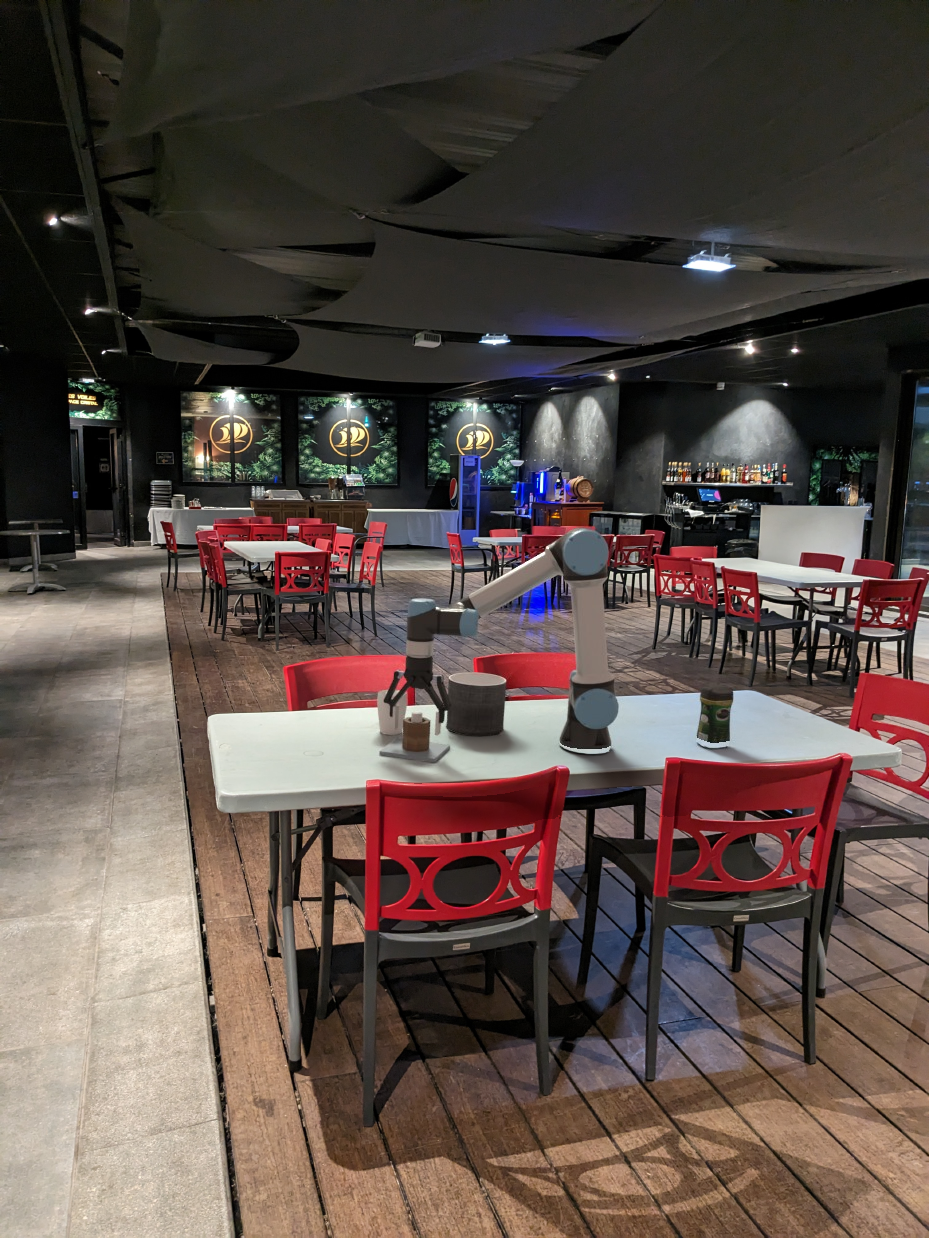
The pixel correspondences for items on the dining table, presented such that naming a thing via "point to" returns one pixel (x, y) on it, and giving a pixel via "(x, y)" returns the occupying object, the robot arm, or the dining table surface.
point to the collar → (416, 735)
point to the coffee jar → (715, 714)
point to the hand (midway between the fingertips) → (416, 731)
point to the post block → (430, 755)
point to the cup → (384, 713)
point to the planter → (476, 704)
